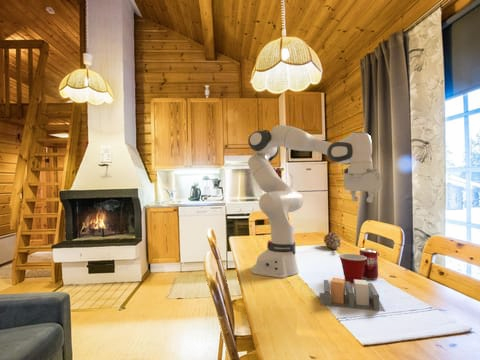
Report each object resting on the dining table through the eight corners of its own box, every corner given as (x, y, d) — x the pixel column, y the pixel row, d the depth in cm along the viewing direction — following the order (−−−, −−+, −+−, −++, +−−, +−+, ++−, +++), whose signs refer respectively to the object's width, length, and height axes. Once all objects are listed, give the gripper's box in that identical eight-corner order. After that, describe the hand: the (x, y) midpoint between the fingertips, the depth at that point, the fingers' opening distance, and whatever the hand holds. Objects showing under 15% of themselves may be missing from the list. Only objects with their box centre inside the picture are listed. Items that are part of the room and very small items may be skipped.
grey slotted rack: (320, 309, 89) (319, 290, 89) (319, 296, 99) (319, 279, 99) (385, 316, 84) (385, 295, 84) (377, 301, 94) (377, 283, 94)
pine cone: (320, 245, 173) (320, 230, 173) (335, 245, 174) (334, 230, 174) (333, 255, 151) (333, 237, 151) (350, 254, 152) (349, 237, 152)
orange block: (331, 301, 92) (330, 281, 92) (333, 296, 95) (332, 277, 95) (343, 303, 90) (343, 283, 90) (345, 298, 93) (344, 279, 93)
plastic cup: (365, 280, 113) (365, 252, 113) (369, 290, 103) (368, 260, 103) (339, 278, 117) (338, 251, 117) (339, 287, 106) (339, 258, 106)
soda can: (380, 280, 113) (379, 252, 113) (362, 279, 114) (361, 252, 114) (375, 274, 120) (374, 248, 120) (358, 273, 122) (357, 247, 122)
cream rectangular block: (356, 304, 89) (355, 283, 89) (354, 299, 93) (353, 279, 93) (369, 305, 88) (368, 284, 88) (366, 300, 92) (366, 280, 92)
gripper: (385, 168, 104) (386, 203, 104) (352, 170, 124) (353, 199, 124) (372, 168, 102) (372, 203, 102) (340, 170, 122) (341, 200, 122)
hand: (362, 201), depth 113 cm, fingers open, 8 cm apart
